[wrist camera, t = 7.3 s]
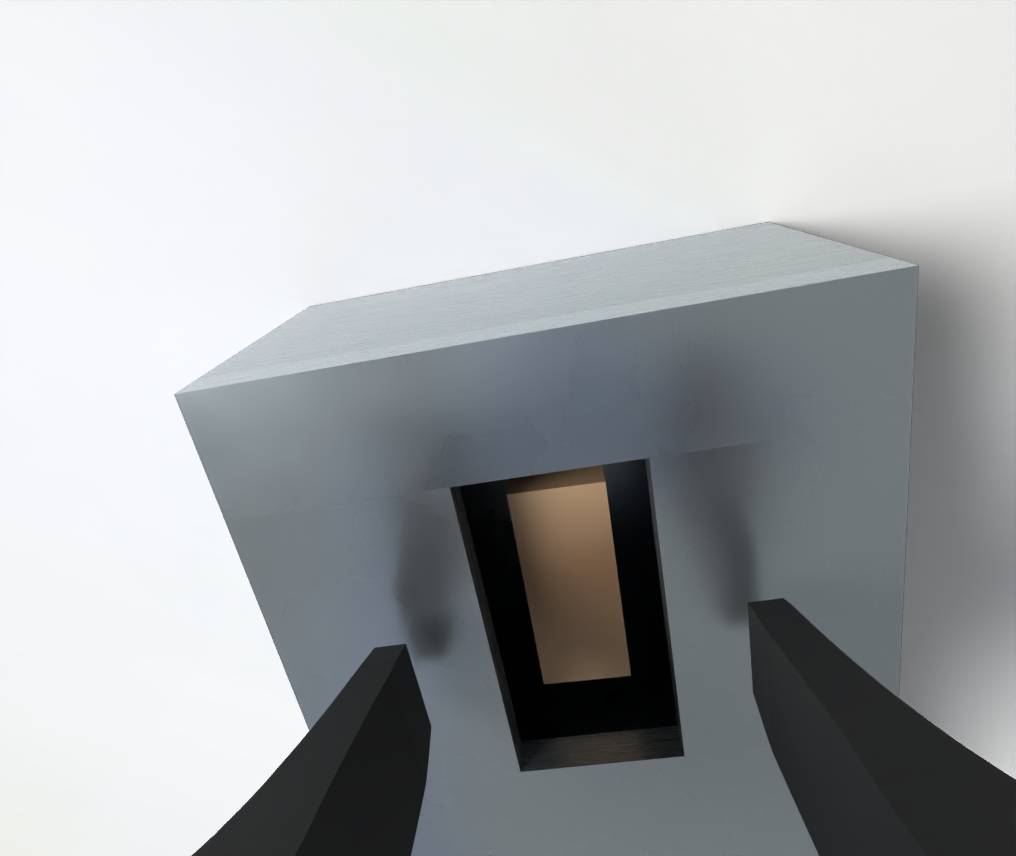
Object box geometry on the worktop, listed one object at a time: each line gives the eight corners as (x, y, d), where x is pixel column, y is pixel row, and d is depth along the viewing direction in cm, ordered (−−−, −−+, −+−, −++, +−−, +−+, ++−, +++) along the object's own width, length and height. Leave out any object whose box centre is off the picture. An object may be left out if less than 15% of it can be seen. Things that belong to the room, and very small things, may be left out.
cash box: (788, 751, 23) (885, 986, 16) (453, 783, 24) (422, 1011, 18) (768, 222, 16) (918, 265, 10) (309, 306, 18) (173, 394, 11)
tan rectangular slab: (609, 552, 19) (631, 675, 15) (543, 560, 20) (543, 684, 15) (588, 396, 18) (605, 481, 13) (515, 407, 18) (507, 494, 13)
